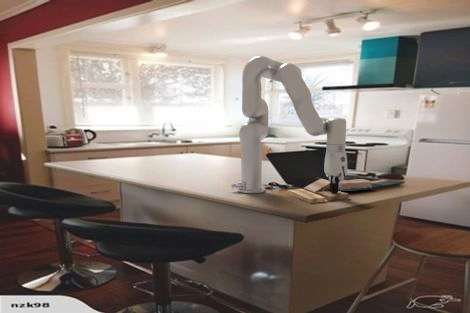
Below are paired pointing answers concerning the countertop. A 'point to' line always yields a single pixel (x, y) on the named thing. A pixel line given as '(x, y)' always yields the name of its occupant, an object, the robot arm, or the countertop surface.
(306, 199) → the laid board
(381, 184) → the countertop surface
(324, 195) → the plank
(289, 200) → the countertop surface
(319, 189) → the plank
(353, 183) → the brick
